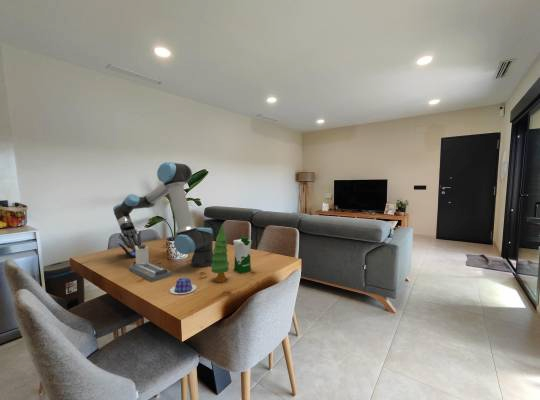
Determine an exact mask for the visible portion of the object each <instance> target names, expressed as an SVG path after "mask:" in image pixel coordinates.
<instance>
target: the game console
mask: <svg viewBox="0 0 540 400" xmlns="http://www.w3.org/2000/svg"><path fill="white" fill-rule="evenodd" d="M118 245H119V246H120V248H121V249H122V250H123V251H124V252H125V255H126V254H127V255H126V256H128V257H129V258H130V259H136V254H135V252H133V251H129V250H128V249H127V247H125V246H124V245H123V244H121V243H118Z"/></svg>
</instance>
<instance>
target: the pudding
mask: <svg viewBox="0 0 540 400" xmlns="http://www.w3.org/2000/svg"><path fill="white" fill-rule="evenodd" d="M196 290H197V285H196V284H192V283H191V279H190V278H188V277H182V278H181V277H180V278H178V279H177V280H176V283H175V286H173V287H171V288H170V289H169V292H170V293H171V294H172V295H185V294H189V293H192V292H194V291H196Z"/></svg>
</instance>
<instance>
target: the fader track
mask: <svg viewBox="0 0 540 400" xmlns="http://www.w3.org/2000/svg"><path fill="white" fill-rule="evenodd" d="M132 263H133V264H132V265H129V266H128V271H130V272H132V273H134V274H136V275H138V276H139V277H141V278H144V279H146V280H147V281H150V282H151V283H154V282H158V281H159V280H163V279H166V278H170V277H172V276H173V271H171V270H169V269H168V268H164V267H162V266H159V265H157V264H154V263H152V262H150V261H149V262H148V263H147V265H146V266H141V265H137V264H136V260H135V261H133V262H132Z"/></svg>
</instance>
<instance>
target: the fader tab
mask: <svg viewBox="0 0 540 400" xmlns="http://www.w3.org/2000/svg"><path fill="white" fill-rule="evenodd" d="M138 247H139V248H136V258H135V261H136V264H137V265H141V266H146V265H147V263H148V262H150V261H149V257H150V255H149V247H148V246H146V244H141V245H139V246H138Z"/></svg>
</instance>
